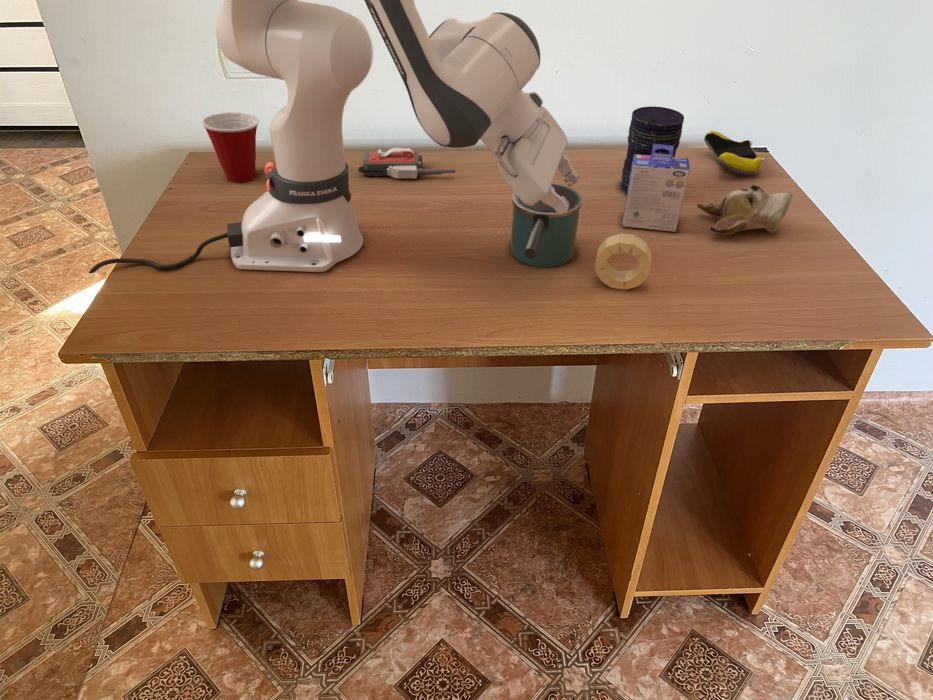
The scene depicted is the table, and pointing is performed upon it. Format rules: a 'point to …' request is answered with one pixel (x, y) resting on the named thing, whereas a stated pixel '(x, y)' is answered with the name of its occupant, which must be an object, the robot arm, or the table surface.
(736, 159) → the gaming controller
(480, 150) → the table surface
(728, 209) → the ceramic sculpture
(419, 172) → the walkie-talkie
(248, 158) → the plastic cup
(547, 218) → the saucepan
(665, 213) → the ink cartridge box
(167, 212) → the table surface
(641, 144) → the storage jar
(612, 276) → the tape roll
